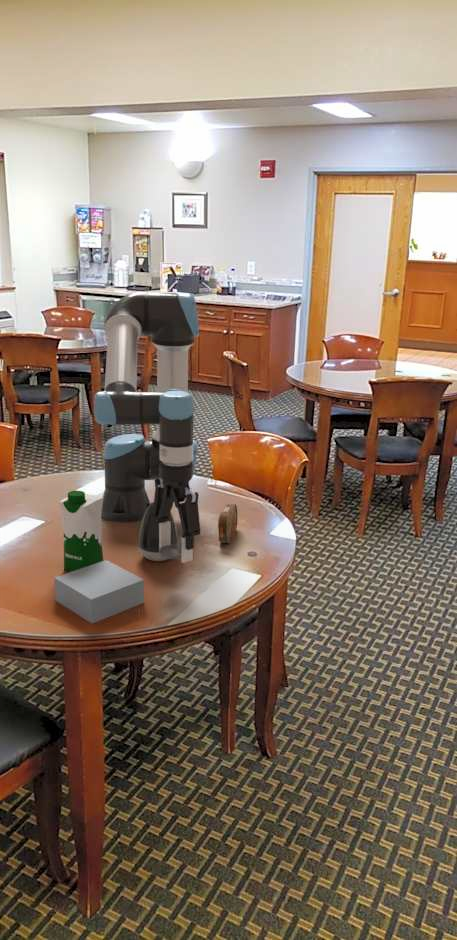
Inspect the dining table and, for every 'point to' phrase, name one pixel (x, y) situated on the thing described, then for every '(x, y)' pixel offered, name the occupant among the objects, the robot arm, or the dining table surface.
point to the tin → (227, 523)
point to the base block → (99, 591)
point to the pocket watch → (172, 549)
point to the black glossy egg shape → (153, 535)
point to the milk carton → (81, 530)
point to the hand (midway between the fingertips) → (175, 554)
